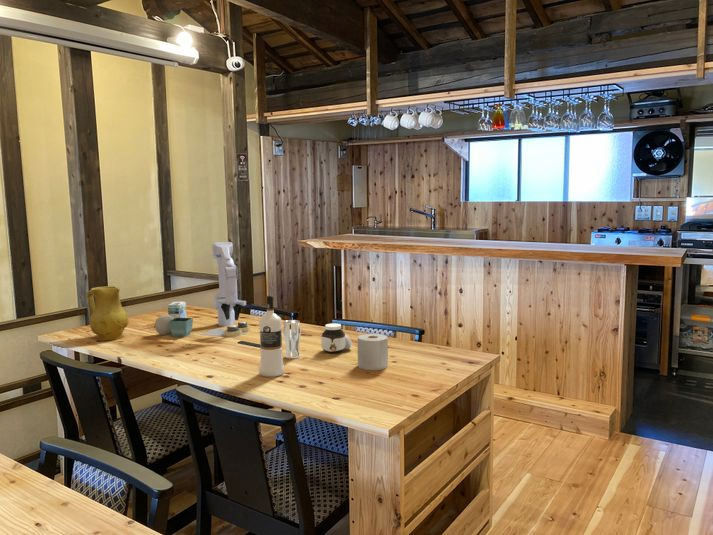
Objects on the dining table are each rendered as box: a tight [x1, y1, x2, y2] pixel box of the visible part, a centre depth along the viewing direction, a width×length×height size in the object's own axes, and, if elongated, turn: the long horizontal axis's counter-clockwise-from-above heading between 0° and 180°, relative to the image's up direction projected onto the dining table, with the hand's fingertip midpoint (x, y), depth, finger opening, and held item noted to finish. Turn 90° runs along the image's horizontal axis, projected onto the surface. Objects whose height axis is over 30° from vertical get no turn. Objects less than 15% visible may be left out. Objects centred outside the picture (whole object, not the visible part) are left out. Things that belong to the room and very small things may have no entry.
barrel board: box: [200, 321, 251, 338], centre depth 281 cm, size 16×20×5 cm
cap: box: [226, 324, 238, 332], centre depth 276 cm, size 5×5×4 cm
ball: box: [154, 314, 174, 336], centre depth 281 cm, size 10×10×10 cm
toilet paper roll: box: [357, 333, 389, 371], centre depth 226 cm, size 12×12×12 cm
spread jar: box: [320, 323, 353, 355], centre depth 249 cm, size 12×11×12 cm
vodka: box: [258, 295, 285, 378], centre depth 215 cm, size 9×9×30 cm
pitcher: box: [86, 285, 130, 342], centre depth 277 cm, size 17×19×25 cm
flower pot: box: [169, 317, 194, 338], centre depth 275 cm, size 9×9×9 cm
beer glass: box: [283, 319, 301, 360], centre depth 240 cm, size 7×7×15 cm
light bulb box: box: [167, 301, 188, 318], centre depth 309 cm, size 11×7×11 cm, turn 179°
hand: (232, 319), depth 276 cm, fingers open, 4 cm apart
